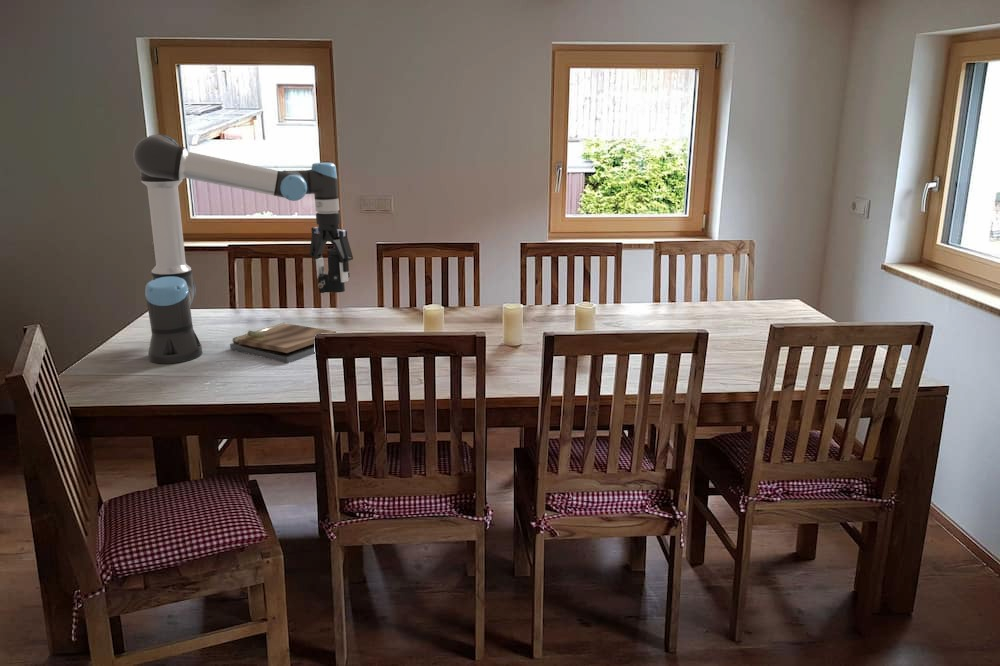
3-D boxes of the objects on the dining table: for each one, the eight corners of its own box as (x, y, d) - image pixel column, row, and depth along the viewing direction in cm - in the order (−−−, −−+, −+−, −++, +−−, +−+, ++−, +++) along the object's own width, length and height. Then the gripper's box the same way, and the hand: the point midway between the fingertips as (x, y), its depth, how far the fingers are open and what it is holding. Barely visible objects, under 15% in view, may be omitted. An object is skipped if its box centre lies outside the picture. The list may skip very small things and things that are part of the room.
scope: (318, 247, 262) (349, 246, 263) (322, 288, 266) (352, 287, 266) (314, 252, 254) (346, 251, 255) (317, 294, 258) (348, 293, 259)
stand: (230, 349, 248) (229, 338, 247) (285, 331, 265) (284, 321, 264) (287, 363, 234) (286, 351, 232) (341, 343, 251) (340, 332, 250)
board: (238, 343, 246) (237, 332, 245) (288, 328, 262) (287, 317, 261) (287, 353, 234) (285, 340, 233) (336, 335, 250) (335, 324, 249)
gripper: (294, 211, 259) (300, 277, 265) (344, 215, 246) (349, 285, 253) (311, 208, 264) (316, 273, 271) (361, 212, 252) (366, 281, 259)
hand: (332, 279), depth 262 cm, fingers closed on scope, 10 cm apart
